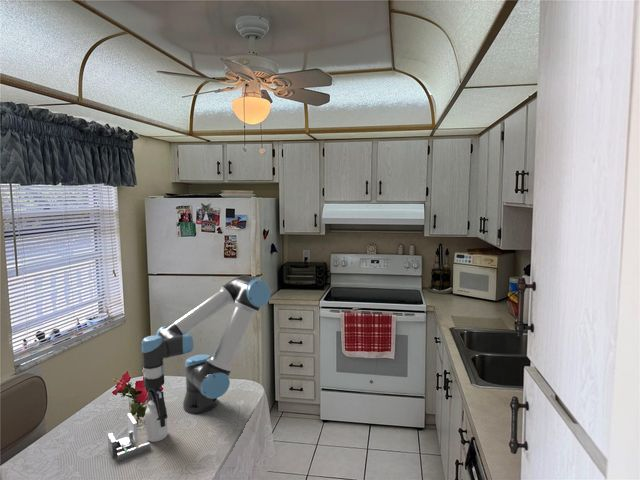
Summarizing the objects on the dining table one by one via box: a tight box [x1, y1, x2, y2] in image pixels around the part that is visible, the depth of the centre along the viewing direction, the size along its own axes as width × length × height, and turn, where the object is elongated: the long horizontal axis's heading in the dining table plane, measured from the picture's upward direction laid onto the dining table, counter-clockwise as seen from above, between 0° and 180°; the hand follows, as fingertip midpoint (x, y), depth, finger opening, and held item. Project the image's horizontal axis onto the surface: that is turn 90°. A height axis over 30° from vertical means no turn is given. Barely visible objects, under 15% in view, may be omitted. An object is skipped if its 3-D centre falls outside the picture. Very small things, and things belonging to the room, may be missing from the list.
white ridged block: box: [107, 432, 152, 462], centre depth 157 cm, size 12×10×6 cm
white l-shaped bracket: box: [119, 412, 139, 452], centre depth 157 cm, size 5×12×10 cm, turn 38°
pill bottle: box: [144, 399, 169, 443], centre depth 165 cm, size 8×8×15 cm
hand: (157, 426), depth 165 cm, fingers open, 13 cm apart
